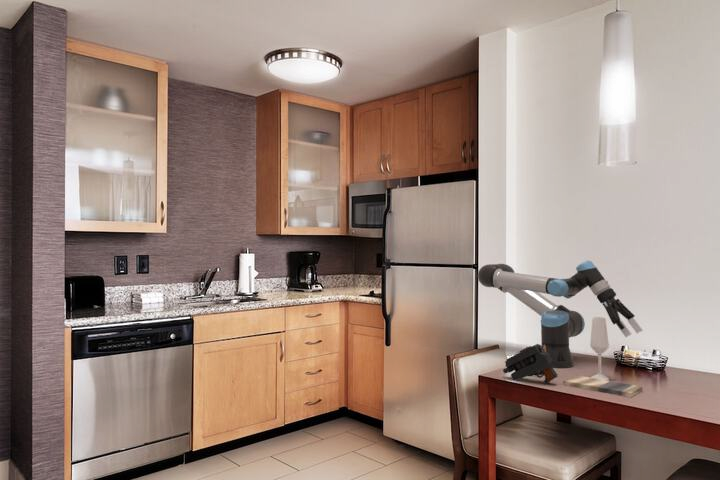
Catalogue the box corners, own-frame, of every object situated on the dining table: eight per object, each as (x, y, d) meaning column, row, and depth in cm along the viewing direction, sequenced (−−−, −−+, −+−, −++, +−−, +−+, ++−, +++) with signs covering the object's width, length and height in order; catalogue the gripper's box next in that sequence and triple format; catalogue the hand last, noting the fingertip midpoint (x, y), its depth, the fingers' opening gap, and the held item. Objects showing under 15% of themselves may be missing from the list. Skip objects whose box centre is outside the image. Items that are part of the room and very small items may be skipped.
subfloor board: (563, 384, 196) (563, 380, 196) (576, 379, 204) (576, 375, 204) (630, 397, 179) (630, 392, 179) (642, 390, 187) (642, 386, 187)
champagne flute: (613, 379, 203) (612, 318, 203) (598, 380, 201) (597, 319, 202) (601, 375, 209) (600, 316, 210) (587, 376, 208) (586, 317, 209)
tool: (557, 379, 192) (537, 342, 197) (514, 397, 202) (496, 362, 207) (562, 376, 197) (542, 340, 202) (520, 394, 207) (501, 359, 212)
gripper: (599, 288, 218) (631, 332, 209) (620, 285, 236) (651, 326, 226) (585, 298, 223) (616, 341, 213) (607, 294, 240) (636, 334, 231)
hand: (634, 333), depth 220 cm, fingers open, 13 cm apart
